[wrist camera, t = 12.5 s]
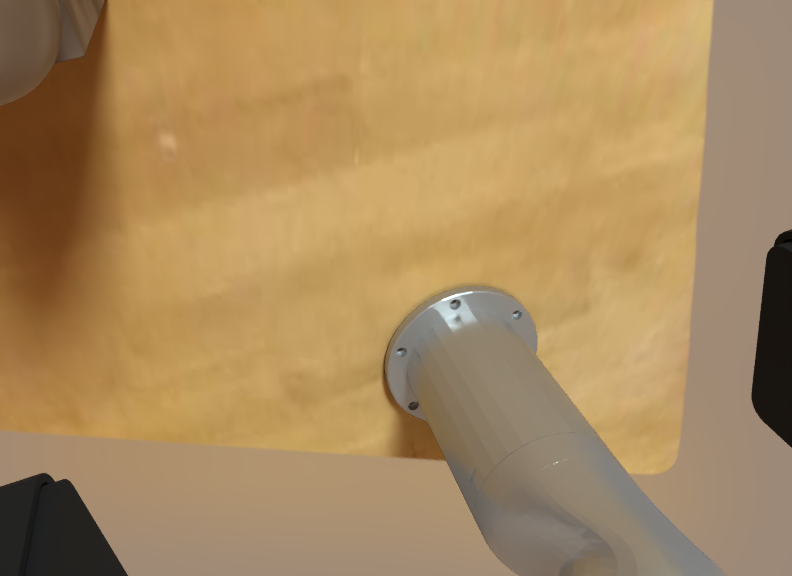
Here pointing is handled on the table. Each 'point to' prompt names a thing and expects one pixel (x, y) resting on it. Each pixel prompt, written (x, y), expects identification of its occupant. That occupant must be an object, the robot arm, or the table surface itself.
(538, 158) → the table surface
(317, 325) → the table surface
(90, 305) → the table surface
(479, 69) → the table surface
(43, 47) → the headboard
